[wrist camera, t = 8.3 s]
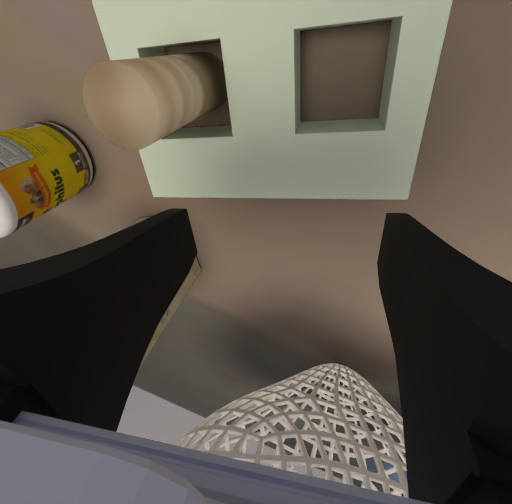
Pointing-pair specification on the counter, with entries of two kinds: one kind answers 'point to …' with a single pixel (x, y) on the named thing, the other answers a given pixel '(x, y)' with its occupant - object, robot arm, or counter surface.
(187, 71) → the dowel
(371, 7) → the board
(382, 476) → the heart
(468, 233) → the counter surface
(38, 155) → the supplement bottle
